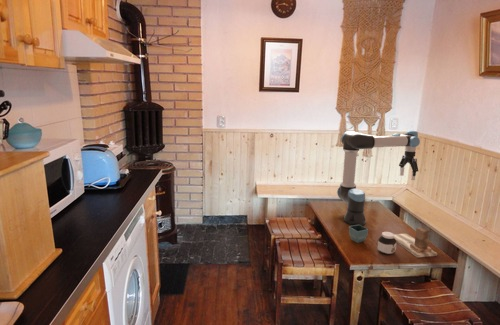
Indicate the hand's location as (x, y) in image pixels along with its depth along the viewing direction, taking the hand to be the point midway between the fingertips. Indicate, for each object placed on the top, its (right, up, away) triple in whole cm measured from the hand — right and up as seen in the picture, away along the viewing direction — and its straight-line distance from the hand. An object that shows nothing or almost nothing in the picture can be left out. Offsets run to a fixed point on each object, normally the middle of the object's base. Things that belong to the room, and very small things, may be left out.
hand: (407, 177), depth 260 cm
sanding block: (-21, -40, -61) cm, 76 cm away
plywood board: (-22, -40, -53) cm, 70 cm away
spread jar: (-41, -41, -60) cm, 84 cm away
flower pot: (-54, -39, -47) cm, 81 cm away
